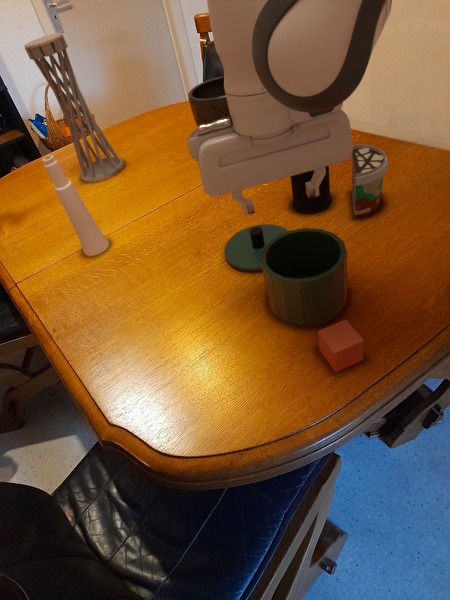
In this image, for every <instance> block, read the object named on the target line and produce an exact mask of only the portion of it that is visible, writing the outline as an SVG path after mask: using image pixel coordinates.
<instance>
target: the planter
mask: <svg viewBox="0 0 450 600" xmlns="http://www.w3.org/2000/svg"><path fill="white" fill-rule="evenodd" d="M187 99H188V103H189V106H190V110H191V113H192V116H193V120H194V122H195V125H196V127H197V126H199V125H202V124H208V123H212V122H214V121H216V120H219V119H222V118H225V117H229V116H230V112H229V107H228V103H227V98H226V94H225V89H224V75H221V76H217V77H214V78H211V79H207V80H205V81H203V82H201V83H199V84H197V85H195V86H194V87H192V88H191V89H190V90H189V92H188V93H187Z"/></svg>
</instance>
